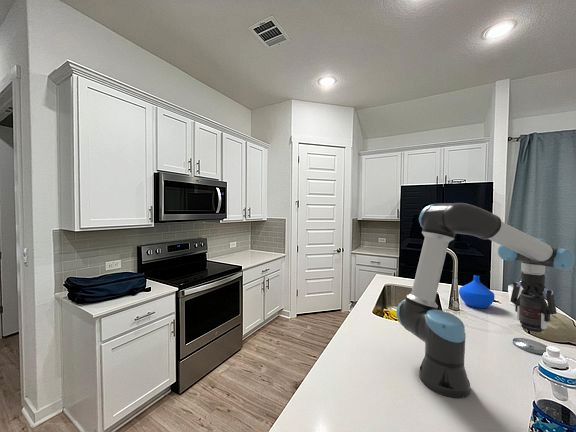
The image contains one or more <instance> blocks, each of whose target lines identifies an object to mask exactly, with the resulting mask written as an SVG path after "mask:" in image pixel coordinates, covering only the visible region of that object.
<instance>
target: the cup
mask: <svg viewBox="0 0 576 432" xmlns="http://www.w3.org/2000/svg"><path fill="white" fill-rule="evenodd" d="M522 290H523V288H522V286H521V287H520V290H519V294H518V297H519V296H520V294H521V292H522ZM512 291H513V284H508V287H507V292H508V299H509V304H510V305H511V304H512V305H511V306H514V305H515V304H514V303H512V302H511V301H510V300H511V296H512ZM517 299H518V298H517Z"/></svg>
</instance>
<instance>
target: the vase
mask: <svg viewBox="0 0 576 432" xmlns="http://www.w3.org/2000/svg"><path fill="white" fill-rule="evenodd" d="M458 295H459V297H460V299H461V300H462V301H463V302H464V304H466V306H469V307H471V306H472V307H471V308H475V307H477V308H476V309H486V308H488V307H490V306H491V305H492V304H493V302H494V301H495V298H496V297H495V294H494V292H493V291H492V290H491V289H489V288H488V287H487V286H486V285H484V284H483V283H482V282H481V281H480V275H475V274H474V275H473V280H472V281H471V282H469V283H467V284H465V285H462V286H460V287H459V289H458Z"/></svg>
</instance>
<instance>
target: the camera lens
mask: <svg viewBox="0 0 576 432" xmlns="http://www.w3.org/2000/svg"><path fill="white" fill-rule="evenodd" d="M542 300H543V302H544V300H545V301H546V302H547V299H546V297H544V298H542ZM541 313H544V312H543V310H542V301H541V299H540V298H536V296H535V295H533V294H531V293H529V294H522V293H521V295H520V320H519V323H520V327H521V328H522V329H524V330H527V331H529V332H533V333H542V332H543V329H541Z"/></svg>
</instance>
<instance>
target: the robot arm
mask: <svg viewBox="0 0 576 432" xmlns="http://www.w3.org/2000/svg"><path fill="white" fill-rule="evenodd" d="M418 222H419V224H420V227H421V228H422V229H421V234H422V236H423V237H424V240H423V244H422V247H421V250H420V251H421V252H420V256H419V259H418V260H419V261H418V264H417V268H416V271H415V272H416V273H415V277H414V281H413V285H412V288H411V292H410V293H408V294H406V296H405V299H403V300H401V302H399V303H398V305H397V307H396V318H397V321H398V323H399V324H400V325H401V326H402V327H403V328H404V329H405V330H406V331H408V332H410V333H411V334H412V335H414V336H415V337H416V338H418V339H419V340H421V341H422V342H424V344H425V345H424V353H425V354H424V357H423V359H422V361H421V365H420V366H419V369H418V370H419V373H418V374H419V375H418V376H419V379H420V380H421V382H422V384H424V385H425V386H426V387H428V388H429V389H430V390H432V391H434V392H435V393H438V394H440V395H442V396H445V397H449V398H453V399H460V398H466V397H468V396H469V395H470V393H471V382H470V380H469V378H468V374H467V370H466V367H465V357H466V356H465V355H466V354H465V352H466V351H465V350H466V329H465V323H464V322H463V320H461V319H460V318H459V317H458V316H457V315H455V314H453V313H450V312H447V311H444V310H440V309H438V307H439V305H438V304H437V303H436V297H437V293H438V288H439V284H440V280H441V276H442V271H443V267H444V264H445V260H446V255H447V251H448V247H449V243H450V242H452V241H454V240H455V237H456V235H457V234H459V235H466V236H467V235H468V236H473V237H477V238H479V239H481V240H489V241H492V242H493V243H496V244H498V245H499V246H498V248H497V255H498V256H499V258H500V259H502V260H504V261H507V262H514V261H515V262H521V264H520V265H521V266H520V271H521V273H520V280H521V281H520V282H519V281H514V282H512V285H513V291H512V296H511V300H510V299H509V302H510V301H511V302H512V303H514V304H515V306H514V308H515V312H516V318H517V319H516V321H520V296H519V297H518V294H519V290H520V287H521V286H522V288H523V290H522V292H521V293H522V294H529V293H530V294H533V295H535V296H536V298H540V299H541V301H542V310H543V312H544V313H541V329H542V330H546V329H548V323H549V322H550V321H551V315H556V314H557V307H556V303H555V296H554V295H555V292H556V291H555V290H554V289H549V288H547V287H546V285H545V283H546V275H545V274H546V267H548V268H554V269H560V270H569V269H571V268H572V267H573V266H574V265H575V261H576V257H575V254H574V252H573V251H571V250H570V249H567V248H561V247H554V246H552V245H550V244H547V243H546V240H545V238H544V239H543V238H540V237H539V238H538V237H537V238H536V237H534V236H532V235H530V234H529V233H525V232H524V231H522V230H519V229H517V228H515V227H513V226H511V225H509V224H507V223H505V222H503V221H502V219H501V217H499V216H498V215H496V214H495V213H492V212H490V211H488V210H487V209H483V208H482V207H478V206H476V205H473V204H469V203H466V202H465V203H464V202H453V203H451V202H450V203H449V202H447V203H446V202H444V203H441V202H440V203H439V202H438V203H433V204H429V205H427V206H425V207H424V208H423V209H422V210H421V211H420V214H419V217H418ZM544 292H545V294H546V295H545V294H544ZM520 295H521V294H520ZM545 296H546V297H545ZM517 298H518V299H517ZM542 298H546V299H545V300H546V301H545V300H544V302H543V300H542Z"/></svg>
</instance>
